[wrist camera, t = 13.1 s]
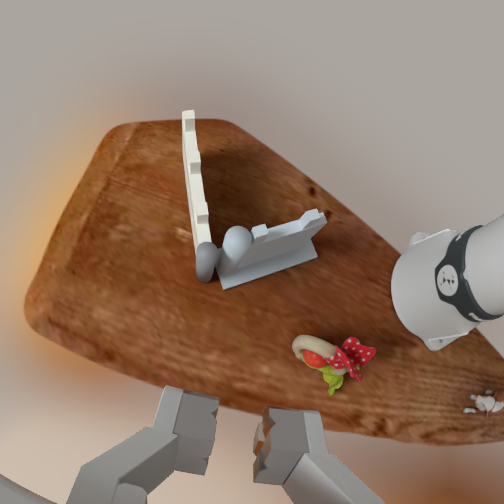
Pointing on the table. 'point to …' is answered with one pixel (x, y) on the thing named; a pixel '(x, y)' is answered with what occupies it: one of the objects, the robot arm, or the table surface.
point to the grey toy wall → (266, 249)
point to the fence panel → (197, 201)
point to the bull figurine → (488, 403)
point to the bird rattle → (333, 358)
